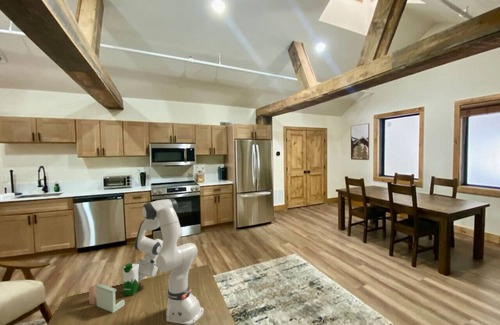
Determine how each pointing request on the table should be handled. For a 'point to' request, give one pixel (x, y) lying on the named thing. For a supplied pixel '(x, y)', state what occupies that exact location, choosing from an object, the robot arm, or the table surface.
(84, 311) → the table surface
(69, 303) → the table surface
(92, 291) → the terracotta jar
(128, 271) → the soya milk
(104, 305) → the display nook
